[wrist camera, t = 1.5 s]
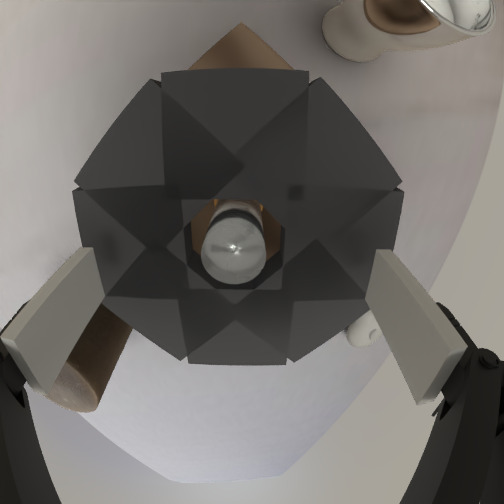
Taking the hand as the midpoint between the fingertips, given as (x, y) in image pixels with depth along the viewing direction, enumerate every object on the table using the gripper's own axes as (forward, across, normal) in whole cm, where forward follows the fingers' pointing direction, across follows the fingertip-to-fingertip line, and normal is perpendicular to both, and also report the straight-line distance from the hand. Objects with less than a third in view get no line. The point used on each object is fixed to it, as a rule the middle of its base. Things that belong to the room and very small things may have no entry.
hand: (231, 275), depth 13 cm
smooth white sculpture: (+15, +14, -14) cm, 25 cm away
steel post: (+13, 0, 0) cm, 13 cm away
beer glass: (+15, +10, +16) cm, 24 cm away
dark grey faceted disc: (+5, 0, 0) cm, 5 cm away
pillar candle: (+15, -16, -12) cm, 25 cm away
